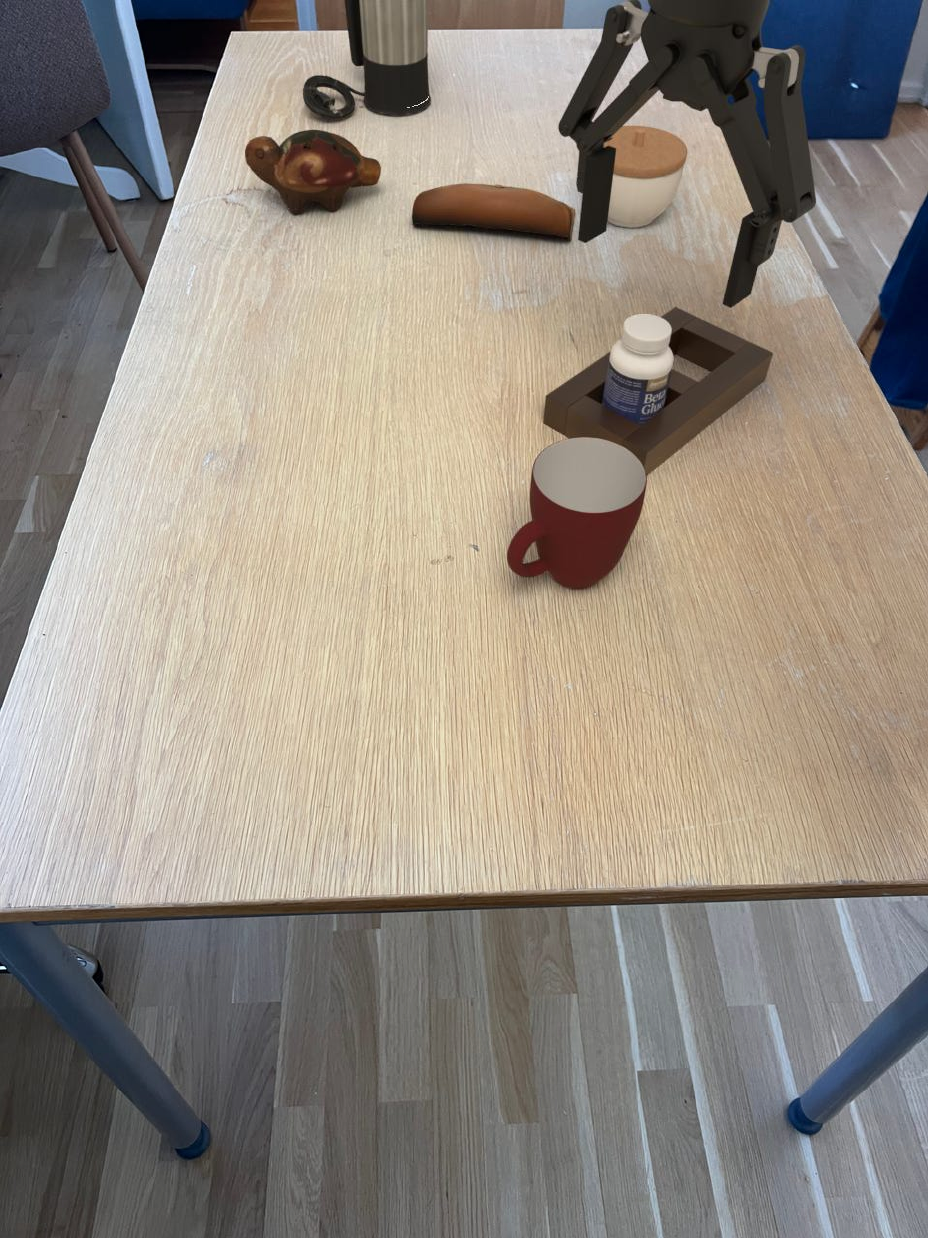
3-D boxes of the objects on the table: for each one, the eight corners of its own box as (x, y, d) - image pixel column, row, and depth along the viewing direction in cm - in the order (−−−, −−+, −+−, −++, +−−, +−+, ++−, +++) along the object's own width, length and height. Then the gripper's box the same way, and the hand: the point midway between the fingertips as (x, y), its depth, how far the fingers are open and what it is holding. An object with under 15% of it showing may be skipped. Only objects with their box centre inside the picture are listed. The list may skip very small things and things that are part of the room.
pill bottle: (642, 448, 83) (662, 353, 75) (588, 426, 84) (603, 331, 77) (669, 416, 85) (691, 321, 78) (616, 395, 87) (633, 301, 80)
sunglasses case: (577, 204, 109) (579, 168, 103) (569, 260, 108) (571, 227, 102) (425, 191, 111) (418, 154, 105) (416, 245, 110) (408, 212, 104)
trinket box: (673, 194, 112) (687, 111, 105) (677, 240, 105) (693, 155, 98) (582, 190, 113) (591, 107, 106) (581, 235, 106) (590, 150, 99)
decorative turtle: (244, 193, 112) (236, 120, 106) (368, 183, 116) (367, 113, 110) (258, 228, 105) (250, 153, 100) (389, 217, 109) (389, 144, 104)
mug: (553, 645, 68) (565, 549, 61) (478, 583, 72) (481, 486, 65) (649, 574, 73) (671, 477, 65) (574, 519, 77) (587, 421, 69)
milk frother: (445, 98, 129) (443, -28, 118) (378, 141, 121) (369, 10, 109) (361, 76, 134) (352, -48, 123) (291, 116, 125) (274, -13, 114)
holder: (765, 379, 89) (773, 352, 87) (641, 480, 80) (647, 452, 78) (670, 333, 94) (675, 306, 92) (542, 422, 85) (545, 395, 82)
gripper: (521, -93, 60) (508, 227, 76) (880, -2, 49) (776, 350, 65) (594, -114, 64) (567, 196, 80) (945, -34, 53) (831, 307, 69)
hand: (661, 266), depth 73 cm, fingers open, 13 cm apart
